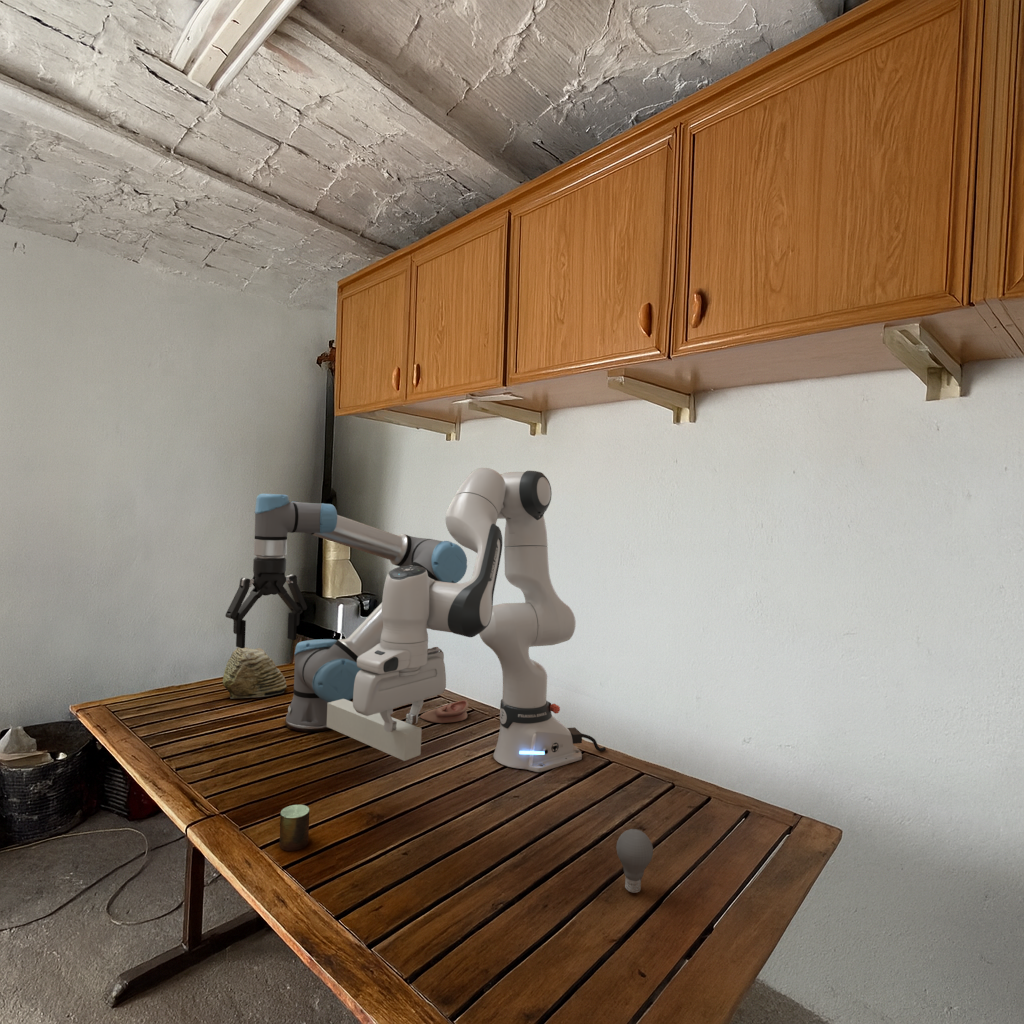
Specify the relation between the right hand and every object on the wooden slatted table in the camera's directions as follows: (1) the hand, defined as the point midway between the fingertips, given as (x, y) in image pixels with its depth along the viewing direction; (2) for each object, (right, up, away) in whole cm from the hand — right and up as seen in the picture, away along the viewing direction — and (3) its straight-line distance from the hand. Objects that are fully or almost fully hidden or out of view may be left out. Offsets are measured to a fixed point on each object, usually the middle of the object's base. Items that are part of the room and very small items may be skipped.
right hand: (401, 727), depth 119 cm
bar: (-7, -4, +5) cm, 10 cm away
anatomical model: (+1, -20, +67) cm, 70 cm away
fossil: (-60, -17, +79) cm, 101 cm away
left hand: (-39, +8, +37) cm, 54 cm away
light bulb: (+41, -23, -13) cm, 49 cm away
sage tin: (-19, -20, -3) cm, 28 cm away
